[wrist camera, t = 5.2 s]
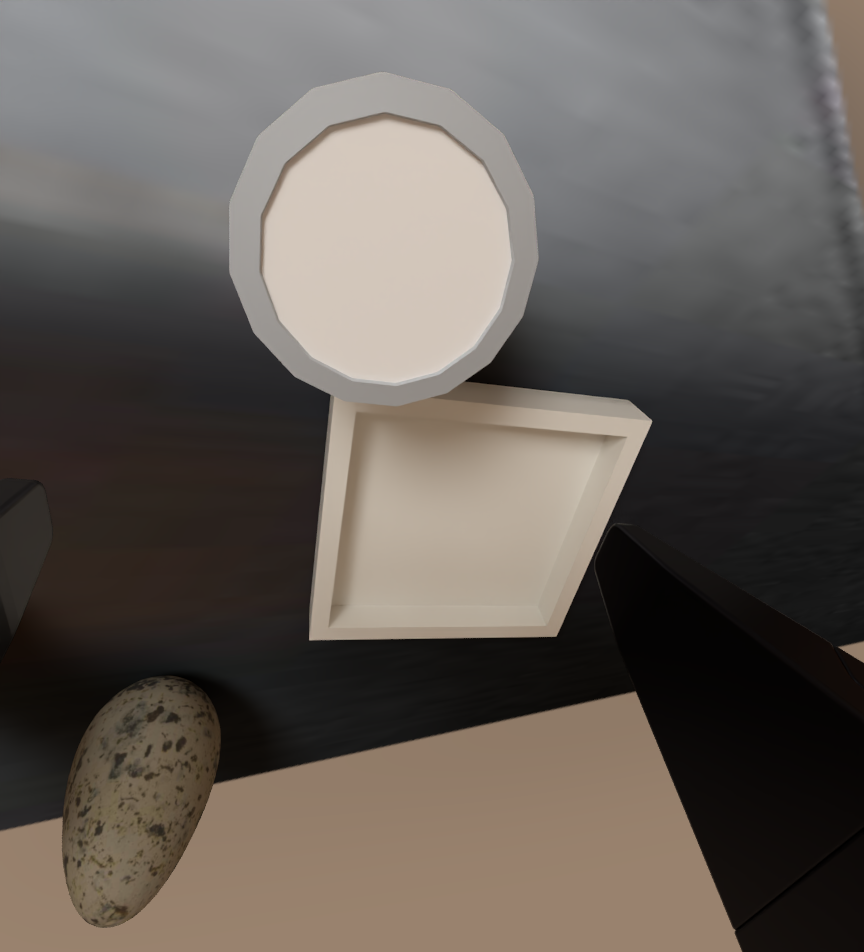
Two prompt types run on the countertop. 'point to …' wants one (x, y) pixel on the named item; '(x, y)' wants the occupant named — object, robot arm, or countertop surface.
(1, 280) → the countertop surface
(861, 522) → the countertop surface
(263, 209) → the white cup
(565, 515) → the tray
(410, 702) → the countertop surface
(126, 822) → the decorative egg
